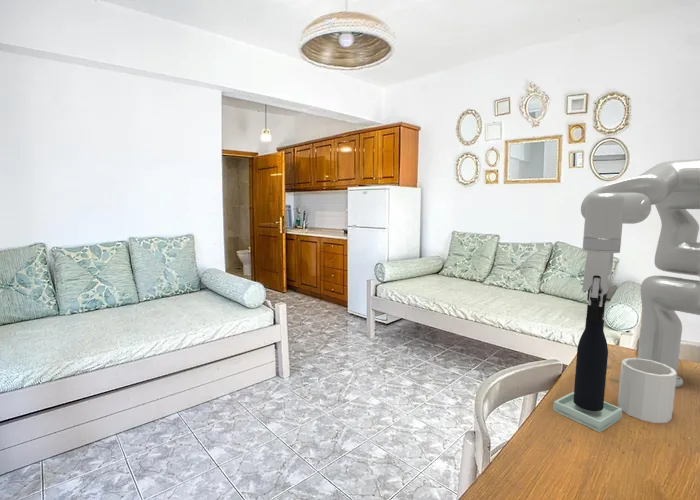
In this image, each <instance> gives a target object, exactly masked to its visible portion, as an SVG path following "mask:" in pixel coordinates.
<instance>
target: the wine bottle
mask: <svg viewBox="0 0 700 500" xmlns="http://www.w3.org/2000/svg"><path fill="white" fill-rule="evenodd" d="M589 292H590V288H589V290H588V291H587V298H586V300H587V301H588V302H589ZM601 292H602V291H599V293H601ZM607 295H608V292H607V293H606V294H604V295H603V303H605V304H606V303H607ZM598 297H600V296H598ZM603 303H602V304H603ZM603 315H604V316H605V313H604V314H603ZM604 326H605V319H604V318H603V319H602V323H595V322H589V321H587V320H586V319H585V327H584V330H583V332H582V334H581V336H580V338H579V340H578V341H579V342H578V345H577V348H576V349H577V351H576V359H575V360H576V362H575V375H574V386H573V387H574V388H573V392H574V399H573V401H574V403H575V404H576V405H577V406H578V407H580V408H582V409H585V410H589V411H601V410H603V406H604V402H605V393H606V381H607V372H608V371H607V370H608V368H607V367H608V357H609V346H608V341H607V338H606V335H605V332H604V329H605V327H604Z"/></svg>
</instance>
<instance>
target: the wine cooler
mask: <svg viewBox="0 0 700 500" xmlns="http://www.w3.org/2000/svg"><path fill="white" fill-rule="evenodd" d="M676 376H678V372H677V373H676V371H675V370H674V369H673V368H671V367H669V366H667V365H665V364H662V363H659V362H655V361H652V360H647V359H640V358H638V357H626V358H624V359H622V360H621V365H620V375H619V385H618V395H617V407H619V408H622V413H625V414H626V415H628V416H630V417H632V418H635V419H638V420H641V421H644V422H648V423H653V424H668V423H669V422H670V421H671V420H672V418H673V410H674V401H675V392H676V388H675V385H676Z"/></svg>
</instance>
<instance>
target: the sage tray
mask: <svg viewBox="0 0 700 500" xmlns="http://www.w3.org/2000/svg"><path fill="white" fill-rule="evenodd" d="M573 399H574V391H572V392H570V393H568V394H566V395H564V396H562V397H560V398H558V399H556V400H554V401H553V405H552V406H553V408H552V411H554V412H555V413H557V414H560V415H562V416H564V417H567V418H568V419H571V420H573V421H575V422H576V423H578V424H581V425H583V426H585V427H588V428H590V429H592V430H594V431H596V432H597V433H602V431H604V430H606V429H607V428H609V427H610V426H612V425H613V424H615V423H617V422H618V421H620V420H621V419H622V418H623V411H622V408H619V406H618V405H617V406H616V405H614V404H612V403H609V402H606V401H604V406H603V410H601V411H589V410H585V409H582V408H580V407H578V406H577V405H576V404H575V403H574V401H573Z"/></svg>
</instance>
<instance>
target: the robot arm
mask: <svg viewBox="0 0 700 500" xmlns="http://www.w3.org/2000/svg"><path fill="white" fill-rule="evenodd" d="M580 205H581V206H580V214H581V216H582V218H583V219H584V223H583V224H584V226H583V227H584V228H583V237H582V240H583V241H582V251H583V252H586V255H585V263H584V271H583V281H582V288H581V289H582V292H583V293H586V292H588V290H589V288H590V292H589V301H588V303H587V306H586V317H585V321H586V320H587V321H589V322H595V323H602V319H603V320H604V317H605V311H606V310H605V308H606V303H603V295H604V294H606V293H607V294H608V291H609V288H610V284H611V279H612V273H613V263H614V254H619V253H621V247H622V246H621V245H622V234H623V231H622V230H623V224H627V225H635V224H638V223H642V222H643V221H645V220H646V219H648V217H649V215H650V214H651V211H652V206H655V208H656V210H657V212H658V215H659V218H660V222H661V225H660V226H661V228H660V233H659V237H658V241H657V244H656V249H655V255H654V266H655V267H656V268H657V269H658V270H659V271H662V272H667V273H672V274H680V275H688V276H696V277H699V278H700V242H697V240H698V235H699V230H700V224H699V223H698V222H697V221H698V220H697V219H696V218H695V217H694V216H693V214H691V213H690V212H689V211H688V210H700V158H694V159H681V160H669V161H663V162H661V163H658V164H656V165H654V166H652V167H651V168H649V169H648V170H646V171H644V172H642V173H641V174H639V175H637V176H633V177H630V178H625V179H622V180H619V181H614V182H612V183H608V184H605V185H602V186H599V187H598V188H596V189H594V190H593V191H590V192H589V193H588V194H587V195H586V196H585V197H584V198H583V200H582V202H581V204H580ZM639 290H640V299H641V321H640V332H639V339H638V340H639V341H638V351H637V358H640V359H647V360H652V361H655V362H659V363H662V364H665V365H667V366H669V367H671V368H673V369H674V370H675V371H676V373H677V374H678V367H679V362H680V361H679V359H680V352H681V351H680V350H681V341H682V333H683V324H682V321H681V319H680V317H679V316H678V314H677V312H681V313H686V314H691V315H696V316H700V280H695V279H690V278H689V279H688V278H682V277H675V276H670V275H669V276H668V275H650V276H648V277H646V278H645V279H644V280H642V282H641V284H640V289H639ZM599 291H602V292H601V293H599ZM598 296H600V297H598ZM602 303H603V304H602ZM603 314H604V315H603ZM683 385H684V379H683V378H681V376H679V375H677V376H676V385H675V389H676V388H680V387H683Z"/></svg>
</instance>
